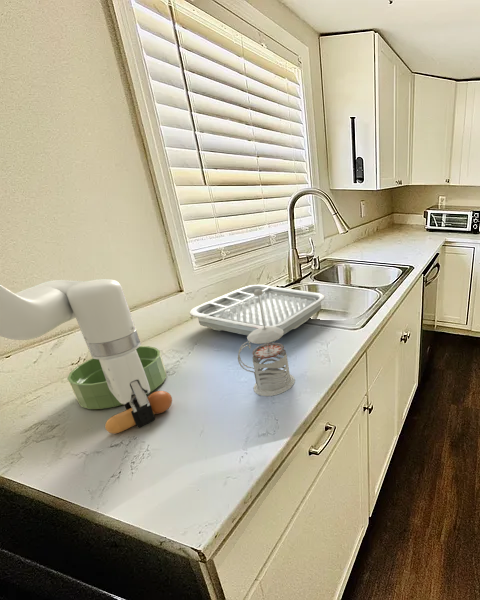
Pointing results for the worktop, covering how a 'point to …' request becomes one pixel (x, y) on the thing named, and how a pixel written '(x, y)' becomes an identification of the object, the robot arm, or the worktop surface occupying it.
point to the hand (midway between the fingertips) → (142, 418)
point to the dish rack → (258, 309)
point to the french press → (272, 377)
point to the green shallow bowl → (94, 387)
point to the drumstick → (125, 419)
